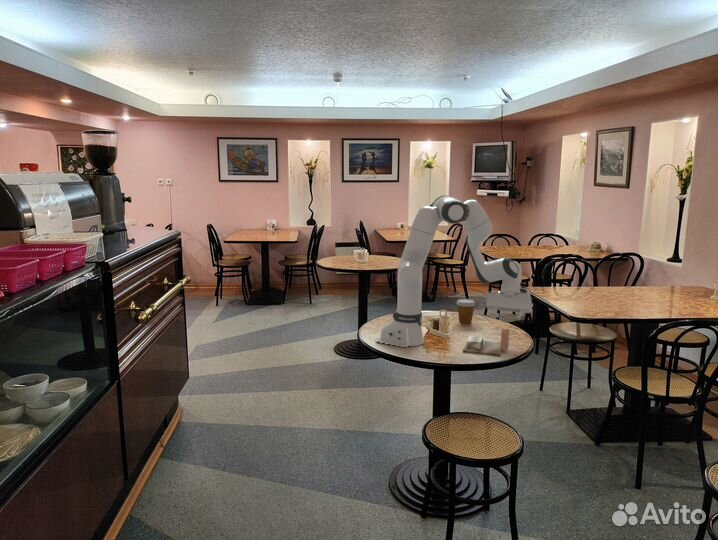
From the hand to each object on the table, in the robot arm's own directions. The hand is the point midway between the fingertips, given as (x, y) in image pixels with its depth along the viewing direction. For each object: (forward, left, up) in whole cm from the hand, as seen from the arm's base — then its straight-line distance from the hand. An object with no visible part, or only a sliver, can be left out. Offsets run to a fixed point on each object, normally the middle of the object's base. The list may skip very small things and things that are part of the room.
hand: (507, 318), depth 232 cm
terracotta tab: (0, -9, -11) cm, 14 cm away
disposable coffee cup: (-23, +29, -13) cm, 39 cm away
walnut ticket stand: (-9, -9, -12) cm, 18 cm away
